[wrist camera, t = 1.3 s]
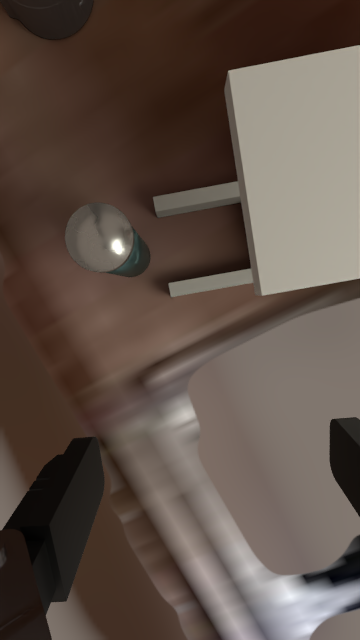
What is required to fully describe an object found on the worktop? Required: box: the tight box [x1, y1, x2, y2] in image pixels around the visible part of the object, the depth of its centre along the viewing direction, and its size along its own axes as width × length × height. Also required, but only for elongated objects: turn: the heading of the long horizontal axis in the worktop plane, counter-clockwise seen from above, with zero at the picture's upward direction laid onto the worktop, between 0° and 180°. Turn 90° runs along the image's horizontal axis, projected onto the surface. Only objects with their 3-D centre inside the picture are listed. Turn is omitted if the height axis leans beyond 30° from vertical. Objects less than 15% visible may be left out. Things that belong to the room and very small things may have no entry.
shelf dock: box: [153, 45, 360, 297], centre depth 27 cm, size 16×12×21 cm
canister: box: [65, 203, 150, 277], centre depth 30 cm, size 5×5×14 cm
